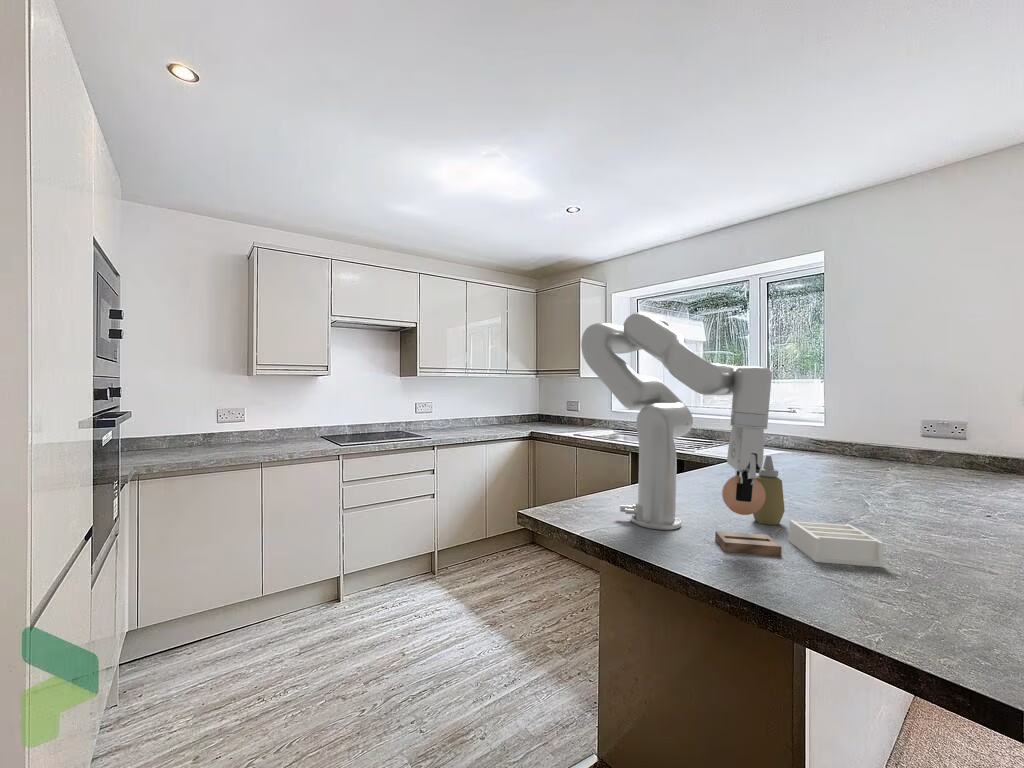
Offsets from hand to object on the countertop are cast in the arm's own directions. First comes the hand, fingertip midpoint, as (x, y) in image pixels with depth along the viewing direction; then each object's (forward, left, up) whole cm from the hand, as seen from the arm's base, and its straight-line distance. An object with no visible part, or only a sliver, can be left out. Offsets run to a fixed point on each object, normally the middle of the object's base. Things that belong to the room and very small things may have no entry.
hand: (742, 499), depth 106 cm
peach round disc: (0, 0, +1) cm, 1 cm away
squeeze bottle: (+13, +21, -11) cm, 27 cm away
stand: (+1, -1, -11) cm, 11 cm away
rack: (+19, 0, -11) cm, 22 cm away
